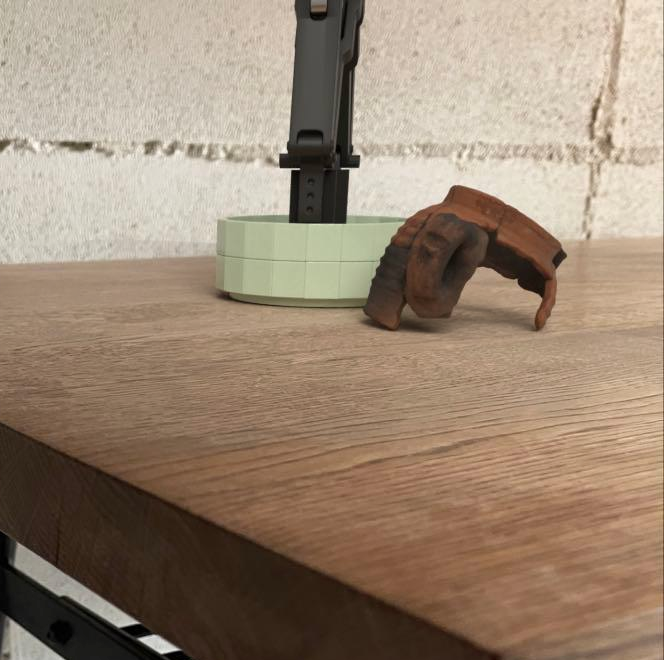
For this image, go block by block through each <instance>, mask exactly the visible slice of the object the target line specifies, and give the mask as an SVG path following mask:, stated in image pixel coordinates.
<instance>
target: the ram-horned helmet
mask: <svg viewBox="0 0 664 660" xmlns="http://www.w3.org/2000/svg"><path fill="white" fill-rule="evenodd" d="M407 218H408V219H407V220H406V221H405V223H404V225H402V226H401V227H399V228H398V230H397V233H396V234H395V235H394V236H392V238H391V242H390V244H389V245H388V246H387V247H386V248H385V254H384V255H383V256H382V257H381V258H380V265H379V266H378V267H377V268H376V275H375V277H374V278H373V279H372V280H371V282H372V285H371V287H370V292H369V295H368V298H367V302H366V305H365V306H363V308H362V312H363V314H364V315H365V316H366V317H369V318H370V319H372V320H373V321H375V322H377V323H379V324H381V325H383V326H384V327H387V328H389V329H390V330H392V331H396V330H397V329H398V328H399V326H400V323H401V318H402V312H403V310H404V308H405V307H406V305H407V304H408V307H409V309H410V310H411V311H412V312H413V313H414V314H415V315H416V316H417V317H418V318H419V319H449V318H451V317H452V313H453V309H454V308H455V307H456V305H457V304H458V302H459V300H460V297H461V294H462V292H463V291H464V288H465V286H466V284H467V283H468V282H469V281H470V280H471V279H472V278H473V276H474V275H475V273H476V270H477V269H478V268H486V269H491V270H493V271H494V272H496V273H497V274H499V275H500V276H501V277H503V278H504V279H508V280H511V281H512V280H513V281H514V280H515V281H516V282H517V285H518V286H519V287H520V289H523V290H524V291H527V292H531V293H534V294H536V295H538V296H539V297H540V298H541V302H540V304H539V307H538V309H537V310H536V313H535V316H534V327H535V329H536V330H537V331H539V330H542V329H543V328H544V327H545V326H546V324H547V320H549V318H551V315H552V310H553V309H554V307H555V305H556V300H557V299H556V296H557V291H558V280H557V274H556V273H557V269H558V268H559V267H560V265H561V264H562V263H563V261H564V260H566V259H567V258H568V254H567V252H566V251H565V250H564V249H563V245H562V243H561V242H560V240H559V239H557V238H556V237H555V236H553V235H552V234H551V233H550V232H548V231H547V230H546V229H545V228H544V227H543V226H541V225H540V224H539V223H537V222H536V221H535V220H534V219H532V218H531V217H529V216H527V214H525V213H523V212H522V211H520V210H519V209H518V208H515V207H514V206H512V205H510V204H506V203H505V202H504V201H503V200H501V199H500V198H497V197H496V196H494V195H491V194H488V193H486V192H484V191H481V190H479V189H476V188H473V187H469V186H465V185H461V184H454V185H451V187H450V188H449V190H448V193H447V194H446V196H445V197H444V199H443V200H442V202H440V203H436V204H431V205H429V206H428V207H425V208H423V209H420V210H418V211H417V212H415V214H413V215H411V216H408V217H407Z"/></svg>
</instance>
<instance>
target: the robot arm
mask: <svg viewBox="0 0 664 660" xmlns="http://www.w3.org/2000/svg"><path fill="white" fill-rule="evenodd" d="M293 5H294V6H293V7H294V14H295V20H296V26H295V35H294V36H295V38H294V57H293V73H292V88H291V101H290V102H291V103H290V117H289V132H288V141H287V142H286V151H287V153H286V152H283V153H282V152H281V153H278V167H279V169H290V186H289V187H290V188H289V206H288V211H289V212H288V215H289V223H326V224H346V222H347V215H348V202H349V184H350V170H351V169H360V166H361V156H362V155H361V154H353V153H354V148H355V147H354V145H353V131H354V130H353V129H354V111H355V110H354V109H355V108H354V107H355V106H354V105H355V85H356V67H357V65H358V63H359V59H360V55H361V26H362V25H363V22H364V18H365V14H366V0H294V4H293Z"/></svg>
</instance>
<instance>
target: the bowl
mask: <svg viewBox="0 0 664 660" xmlns="http://www.w3.org/2000/svg"><path fill="white" fill-rule="evenodd" d="M408 218H409V217H404V216H388V215H387V216H386V215H364V214H363V215H361V214H359V215H358V214H356V215H355V214H347V222H346V224H326V223H289V214H250V215H249V214H245V215H230V216H221V217H217V220H216V246H215V247H216V250H215V251H216V255H215V284H214V285H215V288H216V289H217V290H220V291H223V292H227V293H228V295H229V297H230V299H233V300H236V301H239V302H244V303H252V304H258V305H268V306H278V307H279V306H281V307H299V308H301V307H302V308H358V307H359V308H361V307H363V308H364V307H365V305H366V302H367V298H368V295H369V292H370V287H371V285H372V282H371V280H372V279H373V278H374V277H375V275H376V268H377V267H378V266H379V265H380V258H381V257H382V256H383V255H384V254H385V248H386V247H387V246H388V245H389V244H390V242H391V238H392V236H394V235H395V234H396V233H397V230H398V228H399V227H401V226H402V225H404V223H405V221H406V220H407V219H408Z"/></svg>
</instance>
